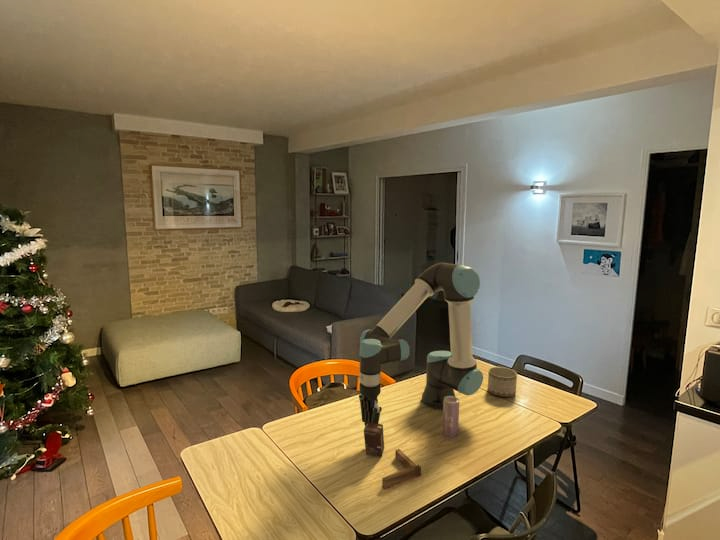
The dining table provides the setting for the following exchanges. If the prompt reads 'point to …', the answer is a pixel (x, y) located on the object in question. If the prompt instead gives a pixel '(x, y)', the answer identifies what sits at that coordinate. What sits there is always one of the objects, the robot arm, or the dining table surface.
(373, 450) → the box
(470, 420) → the dining table surface
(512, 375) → the planter
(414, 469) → the corner fence
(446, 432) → the beverage can
